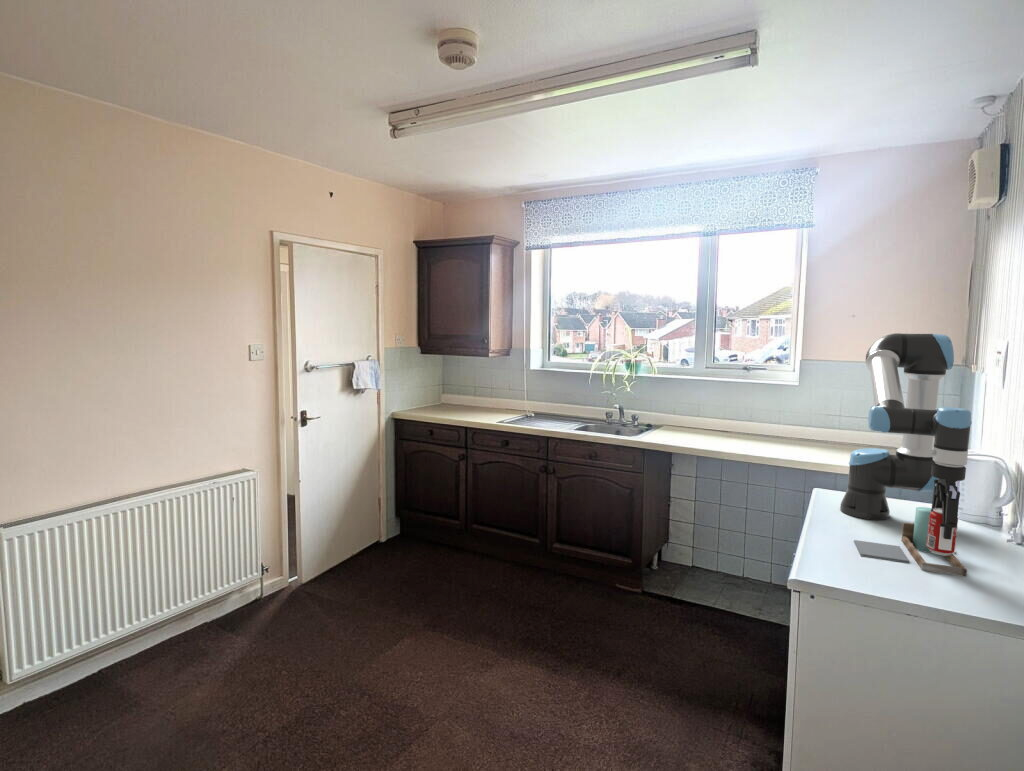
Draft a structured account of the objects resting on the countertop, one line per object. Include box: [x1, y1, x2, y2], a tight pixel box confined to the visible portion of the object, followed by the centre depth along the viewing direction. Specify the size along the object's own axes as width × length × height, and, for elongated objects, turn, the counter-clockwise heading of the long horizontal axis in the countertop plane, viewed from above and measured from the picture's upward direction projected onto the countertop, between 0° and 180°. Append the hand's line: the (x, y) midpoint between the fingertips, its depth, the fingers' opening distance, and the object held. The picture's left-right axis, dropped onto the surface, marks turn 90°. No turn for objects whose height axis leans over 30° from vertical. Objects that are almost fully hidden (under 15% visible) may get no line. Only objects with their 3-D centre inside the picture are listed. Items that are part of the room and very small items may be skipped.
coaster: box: [853, 539, 910, 564], centre depth 171 cm, size 12×12×1 cm
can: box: [912, 506, 932, 553], centre depth 174 cm, size 6×6×12 cm
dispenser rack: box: [901, 522, 968, 577], centre depth 167 cm, size 24×10×6 cm, turn 157°
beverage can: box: [926, 508, 959, 557], centre depth 160 cm, size 6×6×12 cm
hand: (940, 544), depth 160 cm, fingers closed on beverage can, 6 cm apart
